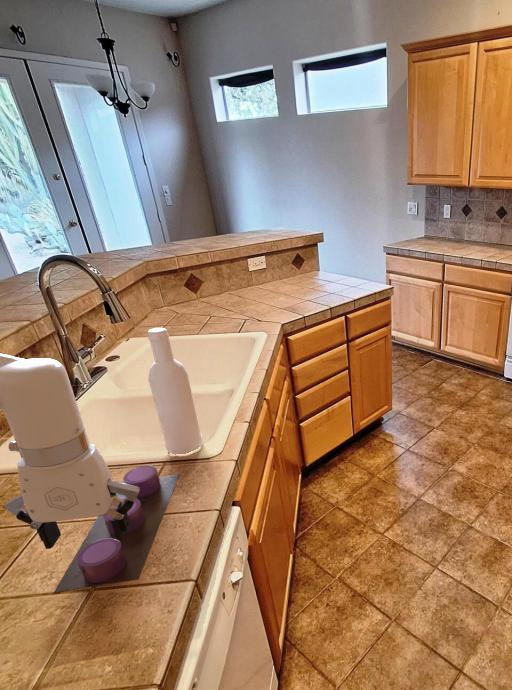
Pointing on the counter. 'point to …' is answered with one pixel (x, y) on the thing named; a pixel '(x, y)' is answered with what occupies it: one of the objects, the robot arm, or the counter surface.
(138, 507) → the dish centre
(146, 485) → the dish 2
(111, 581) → the dark grey board
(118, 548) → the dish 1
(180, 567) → the counter surface
